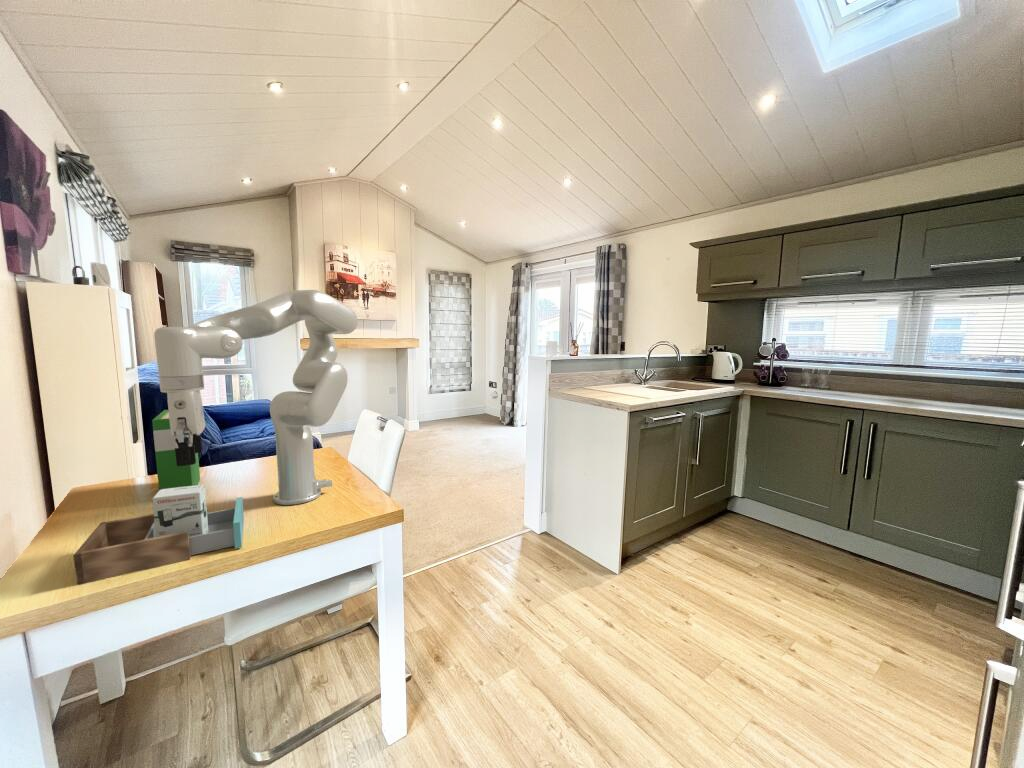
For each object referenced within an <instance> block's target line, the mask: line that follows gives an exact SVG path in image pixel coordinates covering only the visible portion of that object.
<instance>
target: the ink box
mask: <svg viewBox="0 0 1024 768" xmlns="http://www.w3.org/2000/svg"><path fill="white" fill-rule="evenodd" d="M206 491H207V489H206V485H204V484H198V485H195V486H186V487H177V488H168V489H161V490H159V489H158V491H157V493H155V495H154V496H153V497H152V509H153V513H152V514H154V524H155V536H156V537H160V536H165V535H170V534H175V533H180V532H185V531H188V534H189V537H191V536H196V535H201V534H206V533H208V519H207V513H208V506H207V493H206Z"/></svg>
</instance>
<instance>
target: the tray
mask: <svg viewBox="0 0 1024 768" xmlns="http://www.w3.org/2000/svg"><path fill="white" fill-rule="evenodd" d="M243 500H244V499H243V496H239V497H236V500H235V506H234V507H233V508H228V509H227V508H226V509H223V510H217V511H212V512H210V511H209V512H207V519H208V533H206V534H201V535H196V536H191V537H189V545H190V556H194V555H198V554H203V553H207V552H213V551H216V550H221V549H225V548H230V547H234V549H235V550H236V549H240V548H242V546H243V534H244V521H245V518H244V517H245V516H244V504H243V503H244V502H243ZM155 537H156V536H155V524H154V523H153V525H152V526H151V528H150V530H149V532H148V534H147V535H146V537H145V539H150V538H155Z"/></svg>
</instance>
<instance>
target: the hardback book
mask: <svg viewBox="0 0 1024 768" xmlns="http://www.w3.org/2000/svg"><path fill="white" fill-rule="evenodd" d="M151 421H152V422H151V423H152V431H153V440H154V441H153V442H154V443H153V444H154V450H155V451H154V452H155V462H156V471H157V472H156V473H157V484H158V491H159V490H161V489H168V488H177V487H186V486H195V485H199V484H200V481H201V473H200V463H199V462H200V460H199V453H195V457H196V463H195V464H193V465H186V466H177V463H176V454H175V437H173V436H172V434H171V428H170V421H169V411H168V409H164V410H163V411H161V412H160V413H159V414H158V415H157V416H155V417H154V418H153V419H152V420H151ZM198 483H199V484H198Z"/></svg>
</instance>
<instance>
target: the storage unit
mask: <svg viewBox="0 0 1024 768" xmlns="http://www.w3.org/2000/svg"><path fill="white" fill-rule="evenodd" d="M153 523H154V513H149V514H145V515H137V516H133V517H127V518H121V519H120V518H119V519H115V520H114V519H113V520H110V521H109V520H108V521H102V522H100V523H99V524H98V525H97V527H96V528H95V529H94V530H93V531H92V532H91V534H90V535H89V536H88V538H86V540H85V541H84V542H83V543H82V544H81V546H80V547H79V548H78V549H77V550H76V552H74V554H73V563H74V564H73V565H74V570H75V571H74V572H75V579H76V585H77V584H79V585H82V584H87V582H88V583H91V582H96V581H100V580H105V579H110V578H113V577H117V576H123V575H127V574H132V573H135V572H140V571H144V570H149V569H153V568H157V567H159V568H160V567H163V566H166V565H167V566H168V565H171V564H176V563H180V562H184V561H189V560H191V556H192V555H190V545H189V534H188V531H185V532H180V533H175V534H170V535H165V536H160V537H155V538H150V539H145V537H146V535H147V534H148V532H149V530H150V528H151V526H152V525H153Z"/></svg>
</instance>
